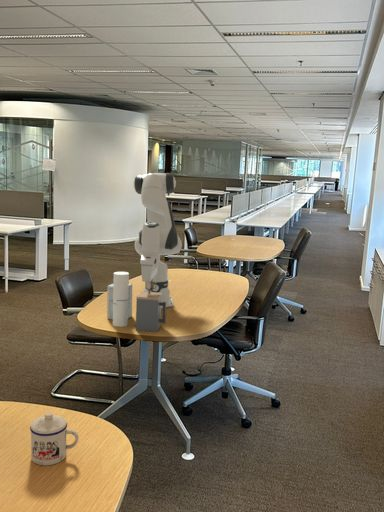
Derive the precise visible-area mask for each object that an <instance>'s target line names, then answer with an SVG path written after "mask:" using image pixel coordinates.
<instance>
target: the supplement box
mask: <svg viewBox="0 0 384 512" xmlns="http://www.w3.org/2000/svg"><path fill="white" fill-rule="evenodd" d="M106 288H107V291H106V292H107V295H106V297H107V300H106V301H107V302H106V304H107V308H106V309H107V311H106V314H107V315H106V316H107V318H108V319H110V320H113V283H111V284H109V285H107V287H106ZM132 317H133V284H132V283H129V293H128V319H129V318H132Z"/></svg>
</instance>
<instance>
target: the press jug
mask: <svg viewBox="0 0 384 512" xmlns="http://www.w3.org/2000/svg"><path fill="white" fill-rule="evenodd" d="M161 301H162V293H154V292H151V295H148V292H143V291H140V292H139V294H137V296H136V306H135V308H136V309H135V310H136V311H135V331H137V332H138V331H139V332H142V331H143V332H154V333H158V331H159V329H160V327H161V326H162V325H161V324H166V319H167V318H166V317H167V315H166V314H167V307H166V302H161ZM161 306H163V308H161Z"/></svg>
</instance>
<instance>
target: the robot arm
mask: <svg viewBox="0 0 384 512" xmlns="http://www.w3.org/2000/svg"><path fill="white" fill-rule="evenodd" d="M176 186H177V181H176V178H175V176H174V174H173V173H170V172H166V173H165V172H153V173H145V174H142V173H140V174H138V175H136V176H135V177H134V180H133V187H134V190H135V191H134V192H136V193H137V195H138V194H139V195H141V197H140V199H141V204H142V205H143V206H144V208H146V213H147V215H146V216H147V219H146V220H147V221H146V222H145V223H143V224H142V229H141V230H140V231H139V232H138V236H137V238H136V239H135V240H134V249H135V251H136V253H137V254H139V256H140V261H139V263H140V265H141V266H140V267H141V268H140V269H141V281H142V282H146V288H147V289H150V288H151V281H153V282H154V289H153V290H151V292H154V293H162V301H161V302H166V308H171V307H174V306H175V305H174V301H173V297H172V296H171V290H170V289H169V280H168V277H169V276H168V274H169V270H168V267H169V266H168V265H167V263H165V262H163V261H162V260H161V256H171V255H176V254H179V253H180V252H181V250H182V246H183V243H182V240H181V238H180V236H179V234H178V231H177V227H176V224H175V223H176V222H175V218H174V214H173V209H172V206H171V203H170V201H168V200H167V196H168V197H169V196H170V194H172V193H173V192H175V188H176ZM166 194H167V195H166ZM147 289H145V288H144V289H142V292H148V290H147ZM161 309H163V306H161Z"/></svg>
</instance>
